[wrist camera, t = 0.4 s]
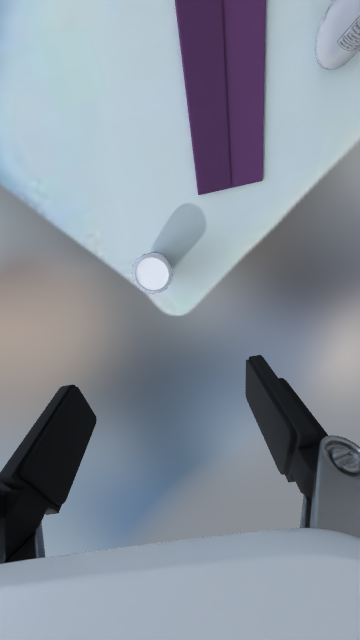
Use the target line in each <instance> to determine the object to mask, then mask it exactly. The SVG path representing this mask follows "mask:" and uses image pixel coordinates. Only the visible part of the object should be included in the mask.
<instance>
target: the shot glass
mask: <svg viewBox="0 0 360 640" xmlns="http://www.w3.org/2000/svg"><path fill="white" fill-rule="evenodd" d="M172 276H173V275H172V269H171V266H170V264H169V263H168V261H167V259H166V258H165V257H164V256H163V255H161V254H159V253H149V254H143V255H142V256H140V257H139V258H137V259H136V261H135V263H134V264H133V267H132V277H133V281H134V283H135V284H136V285H137V287H138V288H139V289H141V290H142V291H144V292H146V293H150V294H156V293H161V292H162V291H164V290H166V289H167V288H168V286H169V285H170V283H171V280H172Z"/></svg>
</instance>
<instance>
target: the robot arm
mask: <svg viewBox="0 0 360 640" xmlns="http://www.w3.org/2000/svg"><path fill="white" fill-rule="evenodd" d="M246 398H247V401H248V403H249V406H250V408H251V410H252V412H253V414H254V417H255V419H256V421H257V423H258V426H259V428H260V430H261V432H262V434H263V436H264V439H265V441H266V443H267V446H268V448H269V450H270V452H271V455H272V457H273V459H274V461H275V463H276V466H277V468H278V470H279V472H280V473H281V474H282V475H283V474H285V476H286V478H287V480H288V482H295V481H296V483H297V485H298V487H299V489H300V491H301V493H303V494H304V496H303V504H302V512H301V520H300V528H292V529H276V530H265V531H255V532H245V533H235V534H227V535H219V536H210V537H202V538H194V539H186V540H177V541H169V542H161V543H153V544H146V545H137V546H129V547H121V548H113V549H105V550H97V551H90V552H83V553H74V554H67V555H60V556H52V557H45V549H44V541H43V531H42V523H41V521H42V519H43V517H44V514H46V515H49V514H56V513H59V510H60V508H61V505H62V504H63V503H64V502H65V501H66V499H67V496H68V494H69V491H70V488H71V486H72V484H73V481H74V478H75V476H76V473H77V471H78V468H79V466H80V463H81V460H82V458H83V455H84V453H85V450H86V447H87V445H88V442H89V440H90V437H91V435H92V432H93V429H94V427H95V424H96V416H95V414H94V413H93V411H92V409H91V408H90V406H89V404H88V403H87V401H86V399H85V398H84V396H83V394H82V393H81V391H80V390H79V388H78V387H76V386H75V385H68V386H62V387H61V388H60V389H59V390H58V391H57V393H56V394H55V396H54V397H53V399H52V400H51V401H50V403H49V404H48V406H47V407H46V409H45V410H44V411H43V413H42V414H41V416H40V417H39V419H38V420H37V421H36V423H35V424H34V425H33V427H32V428H31V430H30V431H29V433H28V434H27V435H26V437H25V438H24V440H23V441H22V443H21V444H20V445H19V447H18V448H17V450H16V451H15V452H14V454H13V455H12V457H11V458H10V460H9V461H8V462H7V464H6V465H5V467H4V468H3V470H2V471H1V472H0V640H360V447H359V446H358V445H356V444H355V443H353V442H351V441H350V440H348V439H345V438H343V437H339V436H328V435H327V433H326V432H325V431H324V429H323V428H322V427H321V425H320V424H319V423H318V422H317V420H316V419H315V418H314V416H313V415H312V414H311V412H310V411H309V410H308V408H307V407H306V406H305V405H304V403H303V402H302V401H301V399H300V398H299V397H298V395H297V394H296V393H295V392H294V390H293V389H292V388H291V386H290V385H289V384H288V383H287V381H286V380H284V379H283V378H278V377H277V376H276V375H275V373H274V372H273V371H272V369H271V368H270V366H269V365H268V364H267V362H266V361H265V360H264V358H263V357H262V356H261V355H257V356H251V357H249V360H246Z"/></svg>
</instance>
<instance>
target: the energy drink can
mask: <svg viewBox="0 0 360 640" xmlns="http://www.w3.org/2000/svg"><path fill="white" fill-rule="evenodd" d="M359 50H360V0H334V1H333V2H332V4H331V5H330V7H329V8H328V10H327V11H326V13H325V15H324V17H323V19H322V21H321V24H320V27H319V31H318V36H317V41H316V58H317V61H318V63H319V64H320V66H321V67H323V68H325V69H336V68H339V67H341V66H343V65H344V64H345V63H346V62H348V61H349V60H350V59H351V58H352V57H353V56H354V55H355V54H356V53H357V52H358V51H359Z"/></svg>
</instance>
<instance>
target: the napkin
mask: <svg viewBox="0 0 360 640" xmlns="http://www.w3.org/2000/svg"><path fill="white" fill-rule="evenodd" d="M175 5H176V13H177V22H178V30H179V38H180V47H181V55H182V63H183V72H184V80H185V88H186V96H187V105H188V113H189V121H190V130H191V138H192V146H193V155H194V163H195V171H196V179H197V188H198V195H201V194H205V193H210V192H214V191H219V190H223V189H227V188H232V187H236V186H241V185H245V184H249V183H254V182H258V181H262V175H263V118H264V62H265V5H266V0H175Z"/></svg>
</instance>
